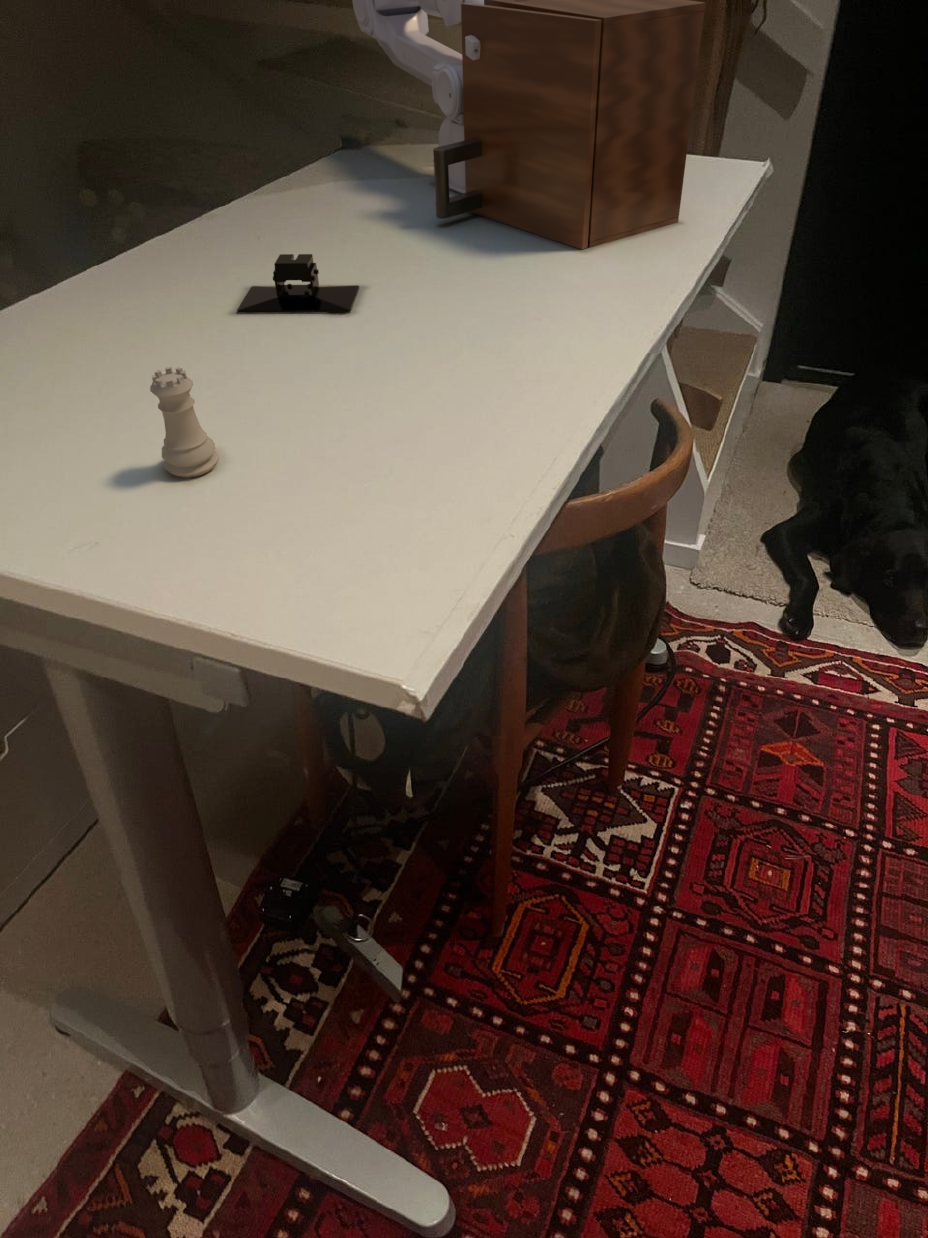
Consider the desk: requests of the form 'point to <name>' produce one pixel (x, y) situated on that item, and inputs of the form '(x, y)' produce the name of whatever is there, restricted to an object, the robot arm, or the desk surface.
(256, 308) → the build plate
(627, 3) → the cupboard
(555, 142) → the cupboard door
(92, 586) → the desk surface
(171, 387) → the rook chess piece
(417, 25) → the robot arm
